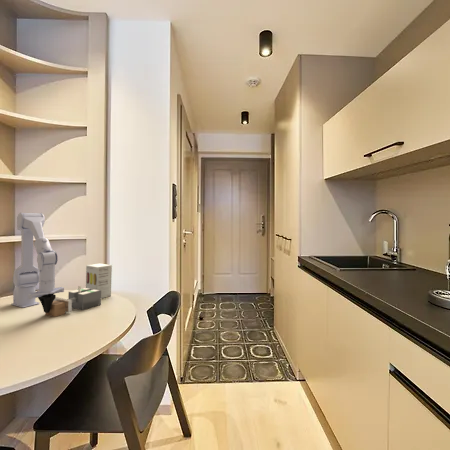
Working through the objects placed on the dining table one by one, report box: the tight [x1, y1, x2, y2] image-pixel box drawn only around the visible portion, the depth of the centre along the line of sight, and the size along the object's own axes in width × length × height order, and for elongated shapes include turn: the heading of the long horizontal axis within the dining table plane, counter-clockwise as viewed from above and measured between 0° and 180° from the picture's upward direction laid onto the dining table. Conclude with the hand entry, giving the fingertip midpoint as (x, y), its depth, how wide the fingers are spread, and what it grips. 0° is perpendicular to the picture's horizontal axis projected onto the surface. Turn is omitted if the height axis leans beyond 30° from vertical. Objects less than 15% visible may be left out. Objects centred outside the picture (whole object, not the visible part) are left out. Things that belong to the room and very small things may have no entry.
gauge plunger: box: [54, 285, 82, 313], centre depth 144 cm, size 11×10×9 cm
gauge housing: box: [67, 287, 102, 311], centre depth 150 cm, size 10×10×7 cm
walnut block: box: [44, 301, 66, 318], centre depth 137 cm, size 6×5×5 cm
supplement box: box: [85, 262, 113, 299], centre depth 167 cm, size 10×9×17 cm
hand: (46, 312), depth 133 cm, fingers closed
